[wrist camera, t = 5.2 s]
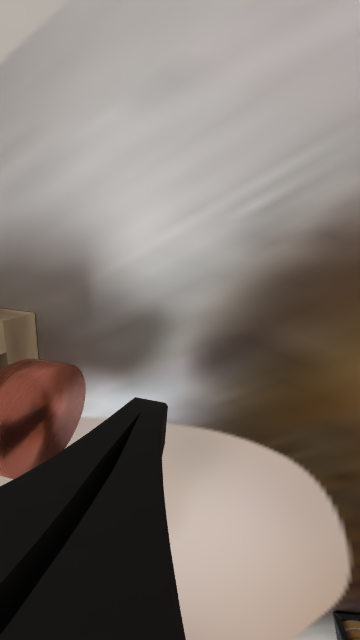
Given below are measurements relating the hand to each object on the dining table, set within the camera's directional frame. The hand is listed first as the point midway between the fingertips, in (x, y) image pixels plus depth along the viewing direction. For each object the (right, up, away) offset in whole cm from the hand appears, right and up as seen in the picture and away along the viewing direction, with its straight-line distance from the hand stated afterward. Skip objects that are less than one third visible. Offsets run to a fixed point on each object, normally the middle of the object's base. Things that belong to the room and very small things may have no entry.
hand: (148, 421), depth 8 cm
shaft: (-7, +1, +2) cm, 8 cm away
